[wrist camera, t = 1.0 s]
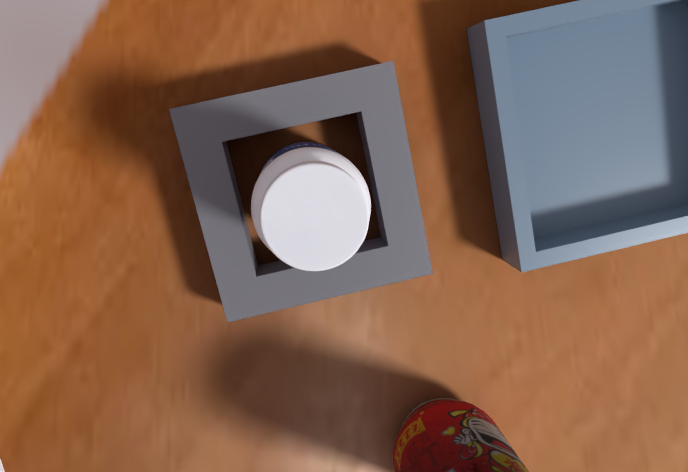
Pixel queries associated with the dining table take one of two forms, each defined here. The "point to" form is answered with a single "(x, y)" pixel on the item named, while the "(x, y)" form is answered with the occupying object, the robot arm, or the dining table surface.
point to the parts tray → (584, 126)
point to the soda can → (452, 440)
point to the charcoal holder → (286, 111)
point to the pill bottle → (311, 206)
